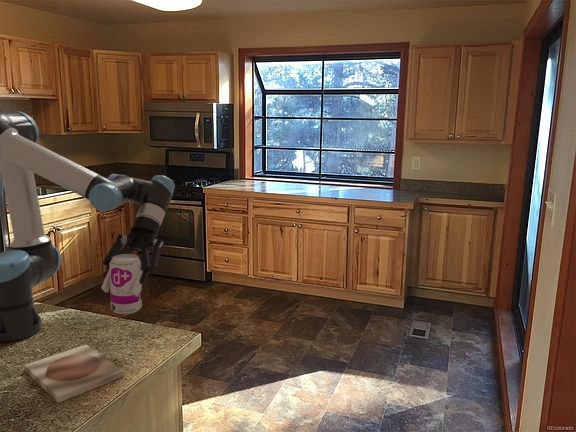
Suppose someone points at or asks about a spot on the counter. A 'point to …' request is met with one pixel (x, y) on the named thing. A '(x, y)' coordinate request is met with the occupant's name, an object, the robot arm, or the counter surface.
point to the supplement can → (124, 283)
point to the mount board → (73, 372)
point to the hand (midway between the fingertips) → (119, 292)
